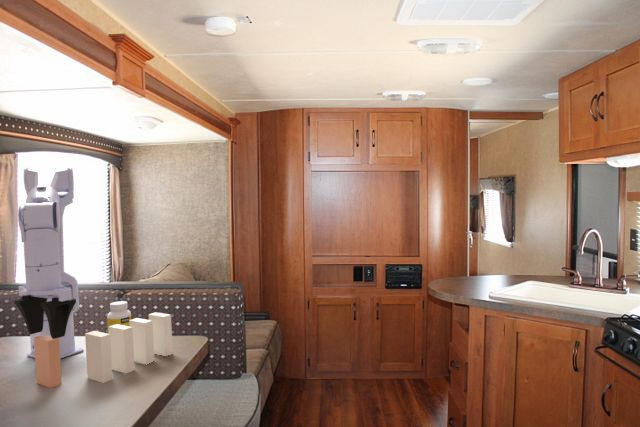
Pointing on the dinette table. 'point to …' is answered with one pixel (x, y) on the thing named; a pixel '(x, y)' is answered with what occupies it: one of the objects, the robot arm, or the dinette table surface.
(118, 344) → the domino
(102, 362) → the domino
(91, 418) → the dinette table surface
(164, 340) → the domino
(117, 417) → the dinette table surface
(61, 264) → the robot arm
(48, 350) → the terracotta domino
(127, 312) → the supplement bottle
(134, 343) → the domino
